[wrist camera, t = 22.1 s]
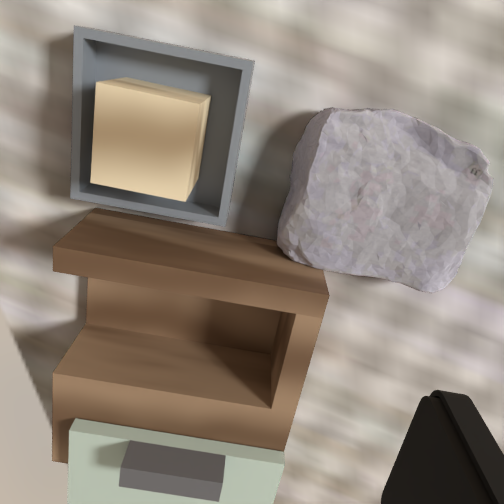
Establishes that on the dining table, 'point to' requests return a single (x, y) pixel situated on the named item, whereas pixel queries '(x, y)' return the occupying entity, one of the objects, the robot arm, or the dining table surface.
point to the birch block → (148, 137)
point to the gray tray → (174, 75)
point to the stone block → (383, 198)
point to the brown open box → (185, 331)
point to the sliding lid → (166, 468)
